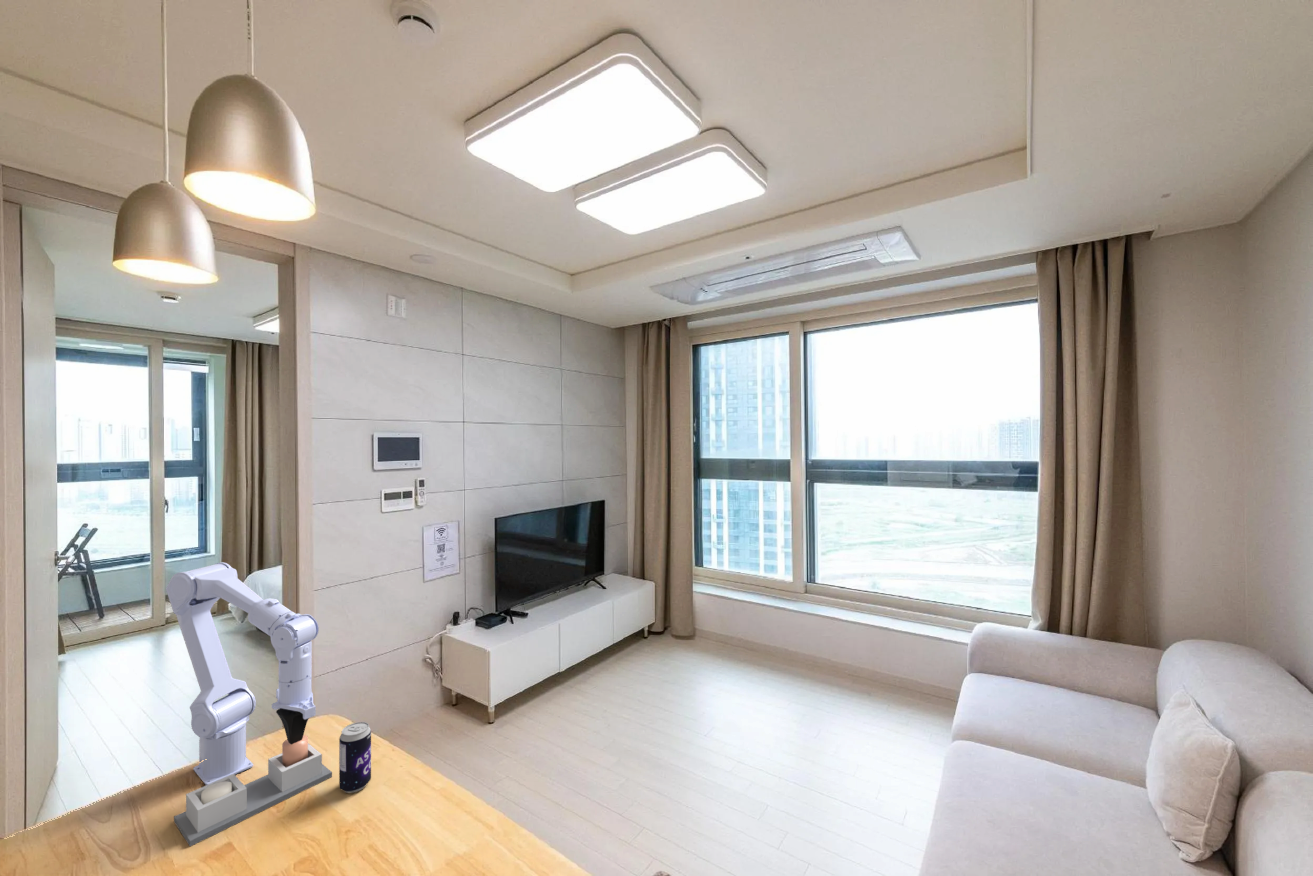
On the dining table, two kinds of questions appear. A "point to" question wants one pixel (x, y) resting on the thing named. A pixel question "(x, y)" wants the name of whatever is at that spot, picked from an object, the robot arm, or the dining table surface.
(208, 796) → the cream plug
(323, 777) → the plug panel
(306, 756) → the terracotta plug
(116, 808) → the dining table surface
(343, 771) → the beverage can
